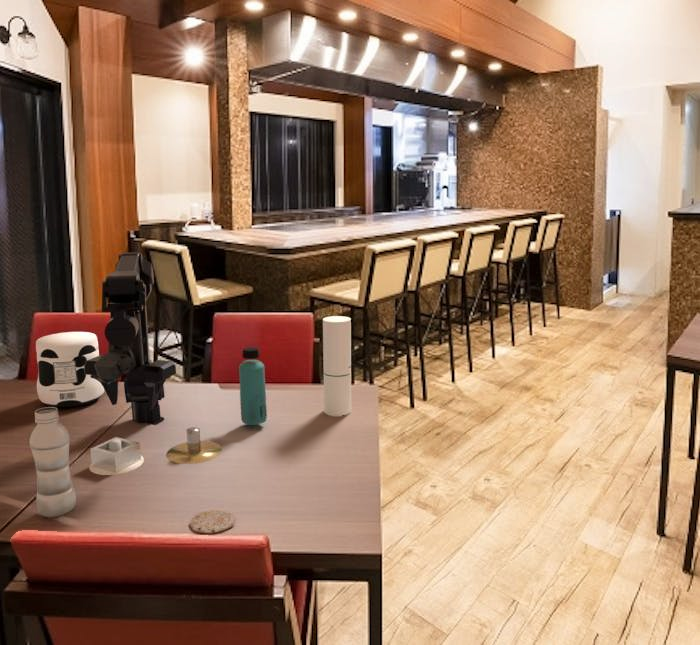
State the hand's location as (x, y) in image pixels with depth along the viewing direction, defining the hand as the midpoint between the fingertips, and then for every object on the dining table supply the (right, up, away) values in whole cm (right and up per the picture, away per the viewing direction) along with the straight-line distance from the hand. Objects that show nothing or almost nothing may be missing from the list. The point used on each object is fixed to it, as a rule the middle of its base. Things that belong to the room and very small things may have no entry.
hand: (133, 406), depth 135 cm
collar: (-4, -12, +1) cm, 13 cm away
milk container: (-31, -4, +42) cm, 52 cm away
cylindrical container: (+43, -6, +33) cm, 54 cm away
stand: (-4, -13, +1) cm, 14 cm away
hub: (+11, -12, +7) cm, 18 cm away
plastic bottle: (-8, -17, -18) cm, 26 cm away
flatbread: (+22, -18, -21) cm, 35 cm away
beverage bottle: (+22, -8, +23) cm, 33 cm away
